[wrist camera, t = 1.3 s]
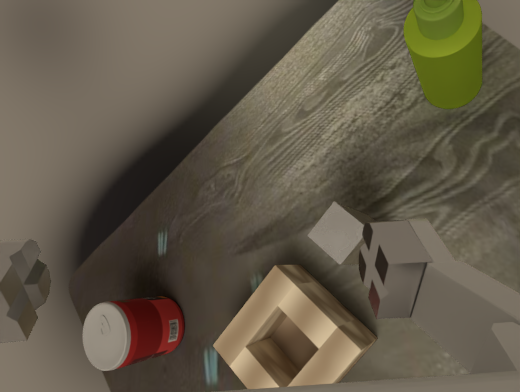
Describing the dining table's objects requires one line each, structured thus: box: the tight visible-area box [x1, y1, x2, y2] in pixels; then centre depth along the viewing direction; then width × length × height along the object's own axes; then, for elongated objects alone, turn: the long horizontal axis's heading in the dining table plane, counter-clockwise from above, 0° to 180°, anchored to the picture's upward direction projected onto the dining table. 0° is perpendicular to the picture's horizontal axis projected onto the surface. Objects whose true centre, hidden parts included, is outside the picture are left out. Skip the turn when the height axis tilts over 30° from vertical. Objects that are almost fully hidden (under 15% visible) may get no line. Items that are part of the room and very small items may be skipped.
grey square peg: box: [308, 201, 376, 265], centre depth 42 cm, size 4×4×12 cm
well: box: [213, 265, 378, 389], centre depth 46 cm, size 12×12×7 cm
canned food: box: [83, 296, 185, 371], centre depth 54 cm, size 8×8×11 cm
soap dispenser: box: [404, 0, 482, 109], centre depth 36 cm, size 6×7×20 cm
